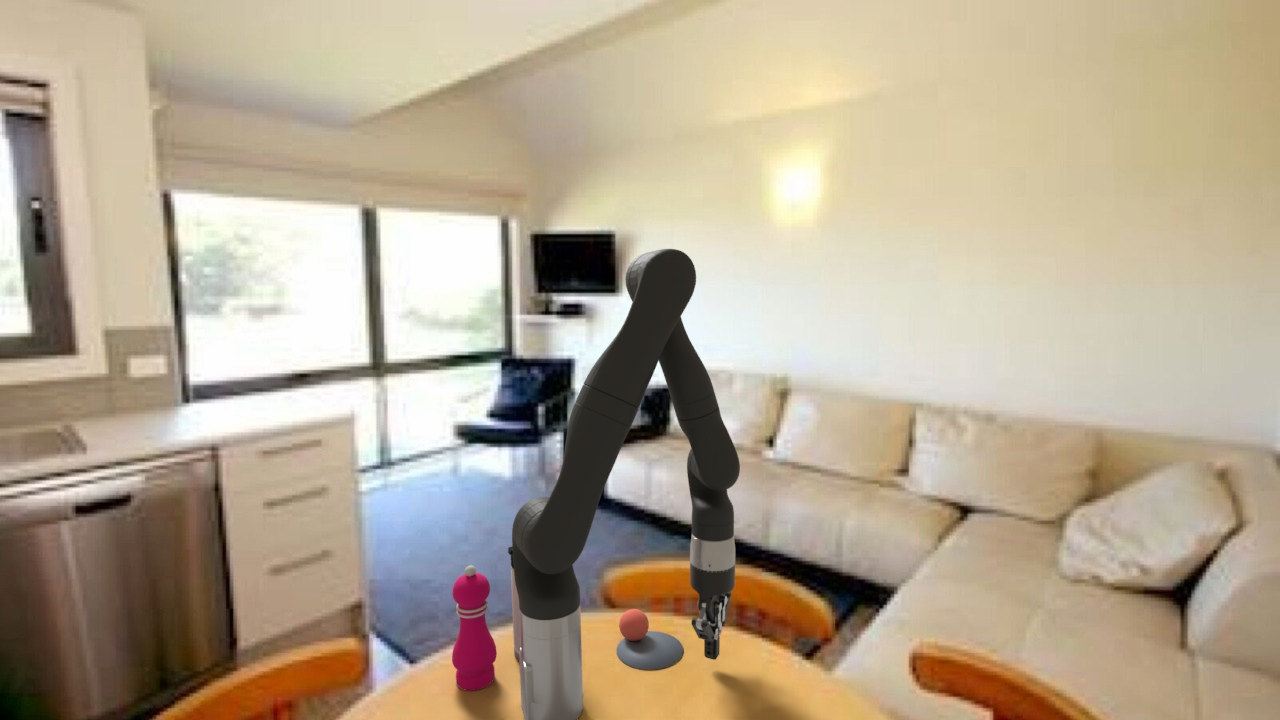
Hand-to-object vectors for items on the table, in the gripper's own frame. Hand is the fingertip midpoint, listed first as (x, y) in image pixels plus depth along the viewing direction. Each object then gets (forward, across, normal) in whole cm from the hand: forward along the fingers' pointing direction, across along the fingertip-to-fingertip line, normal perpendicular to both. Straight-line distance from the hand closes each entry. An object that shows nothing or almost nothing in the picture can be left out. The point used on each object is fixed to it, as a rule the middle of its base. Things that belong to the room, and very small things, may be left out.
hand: (711, 656), depth 111 cm
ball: (0, +2, +16) cm, 16 cm away
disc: (+2, 0, +12) cm, 12 cm away
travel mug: (+3, -10, +31) cm, 33 cm away
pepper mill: (+3, -20, +34) cm, 40 cm away
